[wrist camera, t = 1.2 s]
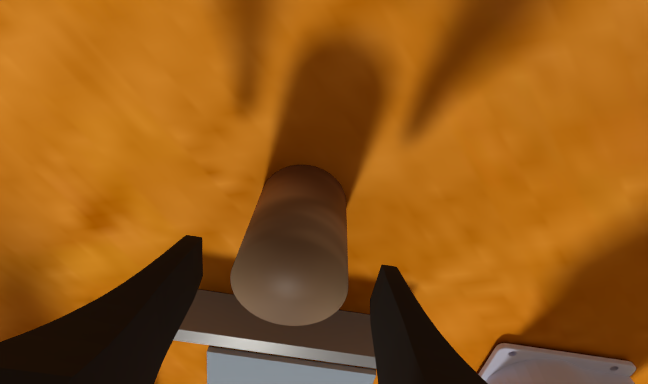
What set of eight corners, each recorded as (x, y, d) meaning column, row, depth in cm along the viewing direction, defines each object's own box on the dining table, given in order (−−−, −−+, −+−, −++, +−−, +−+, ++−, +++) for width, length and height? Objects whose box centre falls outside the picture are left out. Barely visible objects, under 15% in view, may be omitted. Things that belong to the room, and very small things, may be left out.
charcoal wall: (395, 318, 23) (402, 361, 20) (391, 328, 23) (398, 371, 21) (176, 286, 22) (154, 326, 19) (177, 297, 22) (156, 337, 20)
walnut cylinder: (353, 172, 18) (359, 249, 12) (337, 243, 20) (336, 332, 15) (264, 158, 17) (232, 229, 12) (258, 230, 20) (228, 317, 14)
